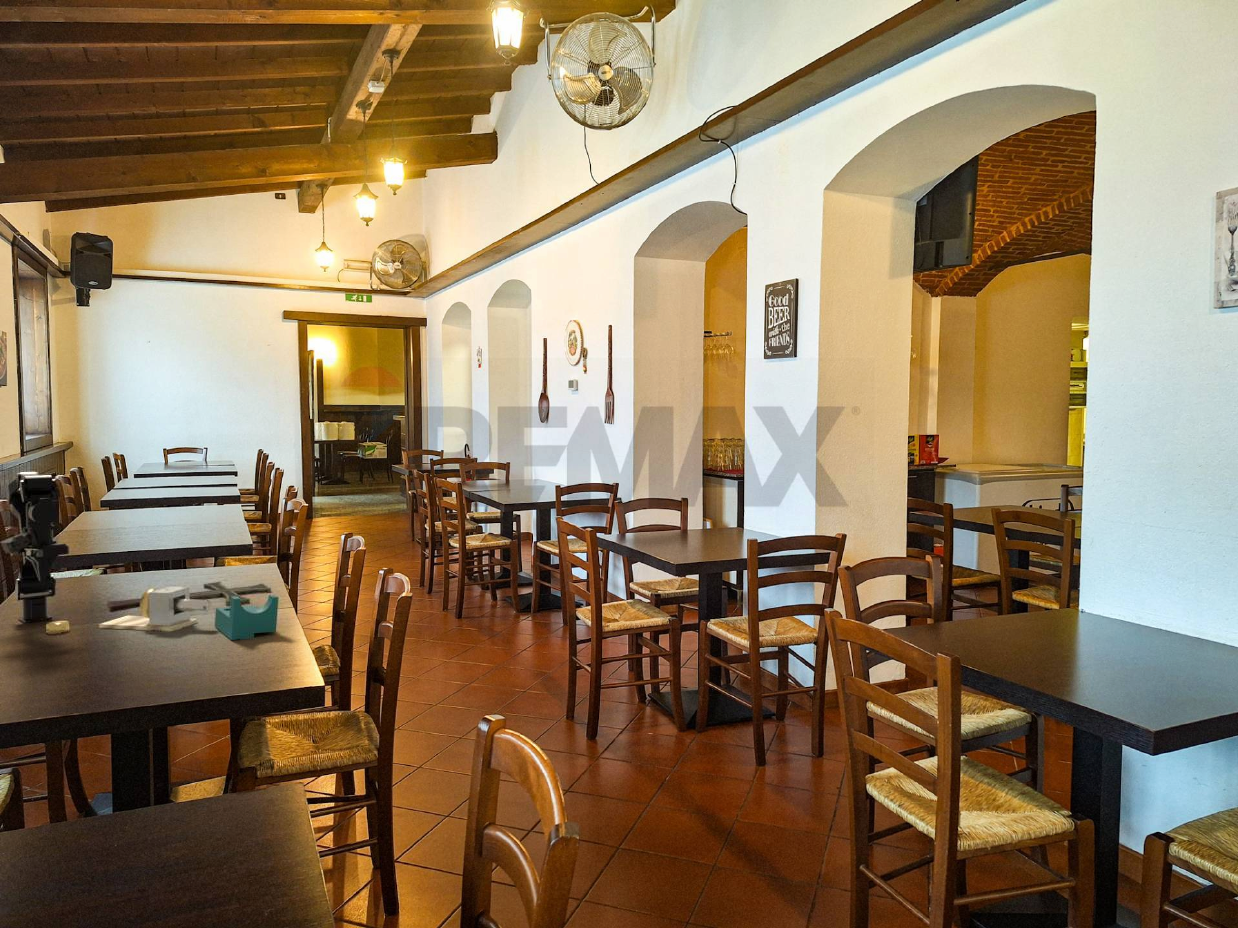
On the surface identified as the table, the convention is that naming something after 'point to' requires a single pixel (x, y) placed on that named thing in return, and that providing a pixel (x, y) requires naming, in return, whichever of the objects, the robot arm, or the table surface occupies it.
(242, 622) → the teal saddle bracket
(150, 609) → the bearing block
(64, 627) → the spacer
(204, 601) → the shaft
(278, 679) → the table surface
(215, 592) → the cross
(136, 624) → the board
